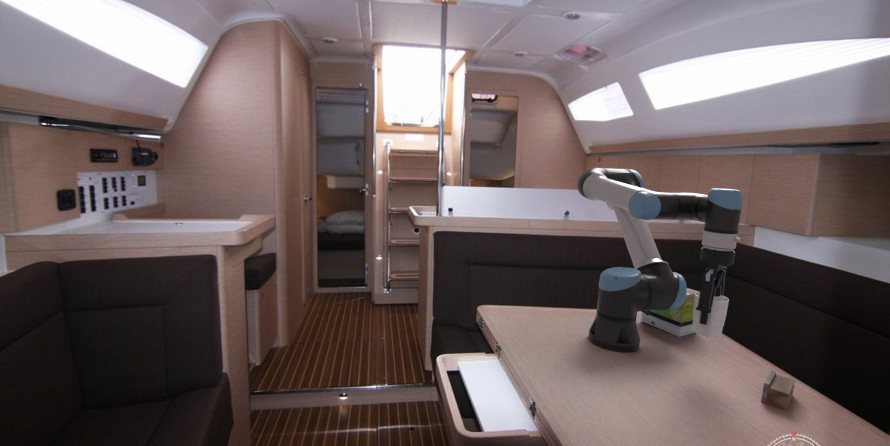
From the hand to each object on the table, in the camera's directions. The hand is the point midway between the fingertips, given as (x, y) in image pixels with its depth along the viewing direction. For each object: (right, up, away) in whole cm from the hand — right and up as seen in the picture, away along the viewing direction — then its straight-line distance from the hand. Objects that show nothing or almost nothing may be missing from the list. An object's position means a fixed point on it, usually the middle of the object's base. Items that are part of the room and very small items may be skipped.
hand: (706, 331), depth 113 cm
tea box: (+8, -8, +34) cm, 36 cm away
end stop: (+11, -14, -10) cm, 20 cm away
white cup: (0, -1, 0) cm, 0 cm away
